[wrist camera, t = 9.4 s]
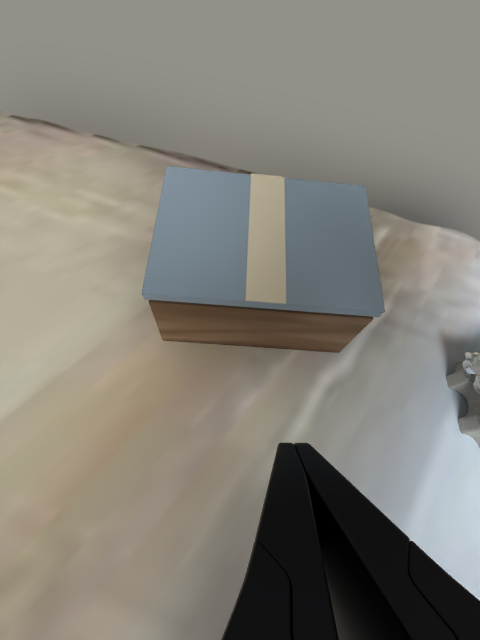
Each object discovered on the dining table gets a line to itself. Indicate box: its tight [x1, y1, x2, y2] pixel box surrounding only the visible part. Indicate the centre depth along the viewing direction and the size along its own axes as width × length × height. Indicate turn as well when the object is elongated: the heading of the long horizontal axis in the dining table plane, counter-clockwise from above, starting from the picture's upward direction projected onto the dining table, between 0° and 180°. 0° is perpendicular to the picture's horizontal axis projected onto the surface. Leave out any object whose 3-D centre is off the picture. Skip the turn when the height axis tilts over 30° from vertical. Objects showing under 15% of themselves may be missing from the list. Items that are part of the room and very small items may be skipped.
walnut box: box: [149, 300, 373, 353], centre depth 24 cm, size 10×14×6 cm
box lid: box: [142, 166, 385, 317], centre depth 21 cm, size 10×14×1 cm
